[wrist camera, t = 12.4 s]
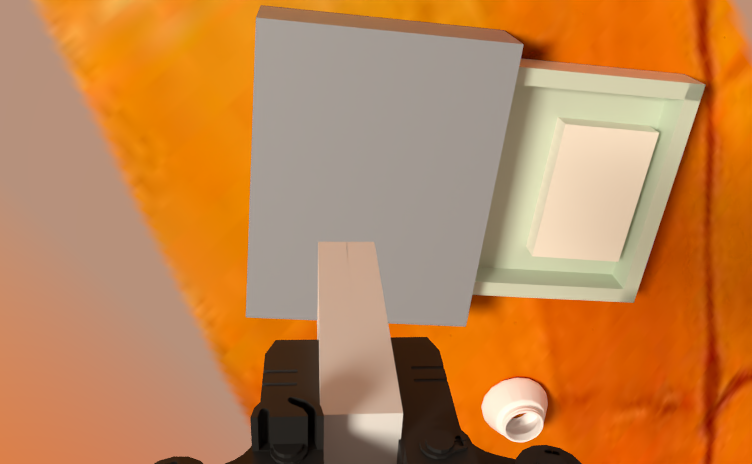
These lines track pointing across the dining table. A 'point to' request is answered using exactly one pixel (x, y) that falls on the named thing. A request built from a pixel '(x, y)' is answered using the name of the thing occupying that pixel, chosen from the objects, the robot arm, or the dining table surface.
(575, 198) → the card
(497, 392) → the white jar
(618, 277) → the tray
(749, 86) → the dining table surface
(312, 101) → the grey drawer casing
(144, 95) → the dining table surface
